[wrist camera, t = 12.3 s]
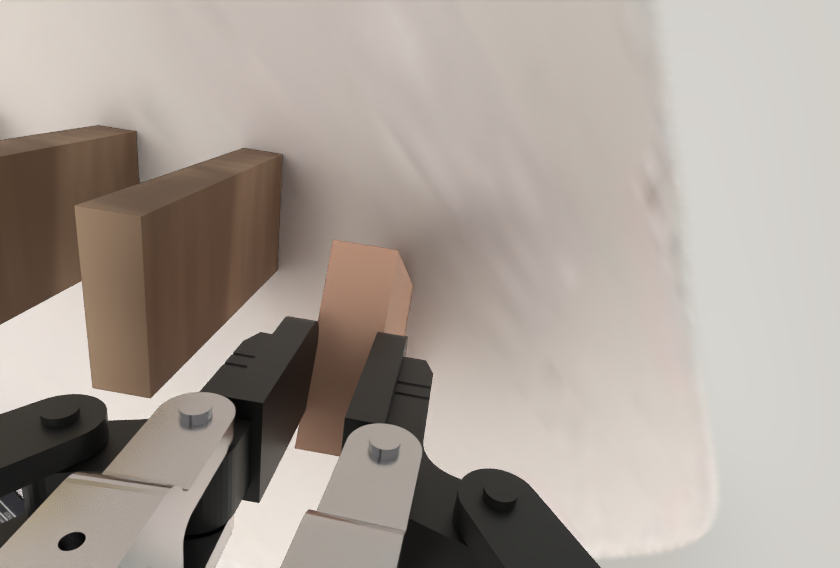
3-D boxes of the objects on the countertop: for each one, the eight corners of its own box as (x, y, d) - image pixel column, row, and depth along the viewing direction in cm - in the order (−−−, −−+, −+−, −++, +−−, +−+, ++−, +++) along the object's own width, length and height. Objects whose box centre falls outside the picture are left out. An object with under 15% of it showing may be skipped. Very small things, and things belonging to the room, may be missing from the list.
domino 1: (107, 242, 24) (-123, 350, 15) (97, 125, 22) (-171, 166, 13) (142, 248, 24) (-66, 360, 15) (136, 131, 22) (-107, 176, 13)
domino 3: (355, 397, 23) (294, 448, 13) (375, 279, 23) (332, 239, 13) (392, 404, 23) (362, 460, 13) (413, 285, 23) (398, 250, 13)
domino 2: (241, 264, 24) (92, 388, 15) (243, 147, 22) (74, 205, 13) (277, 270, 24) (150, 398, 15) (282, 154, 22) (141, 216, 13)
